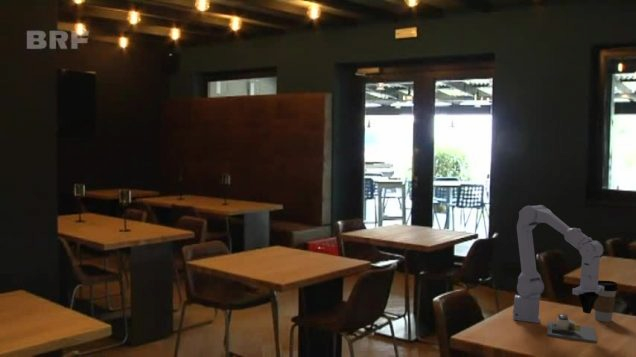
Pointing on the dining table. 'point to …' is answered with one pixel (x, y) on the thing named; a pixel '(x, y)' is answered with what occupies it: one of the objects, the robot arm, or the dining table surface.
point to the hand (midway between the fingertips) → (586, 312)
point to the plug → (562, 323)
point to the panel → (572, 333)
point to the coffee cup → (605, 301)
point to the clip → (572, 324)
